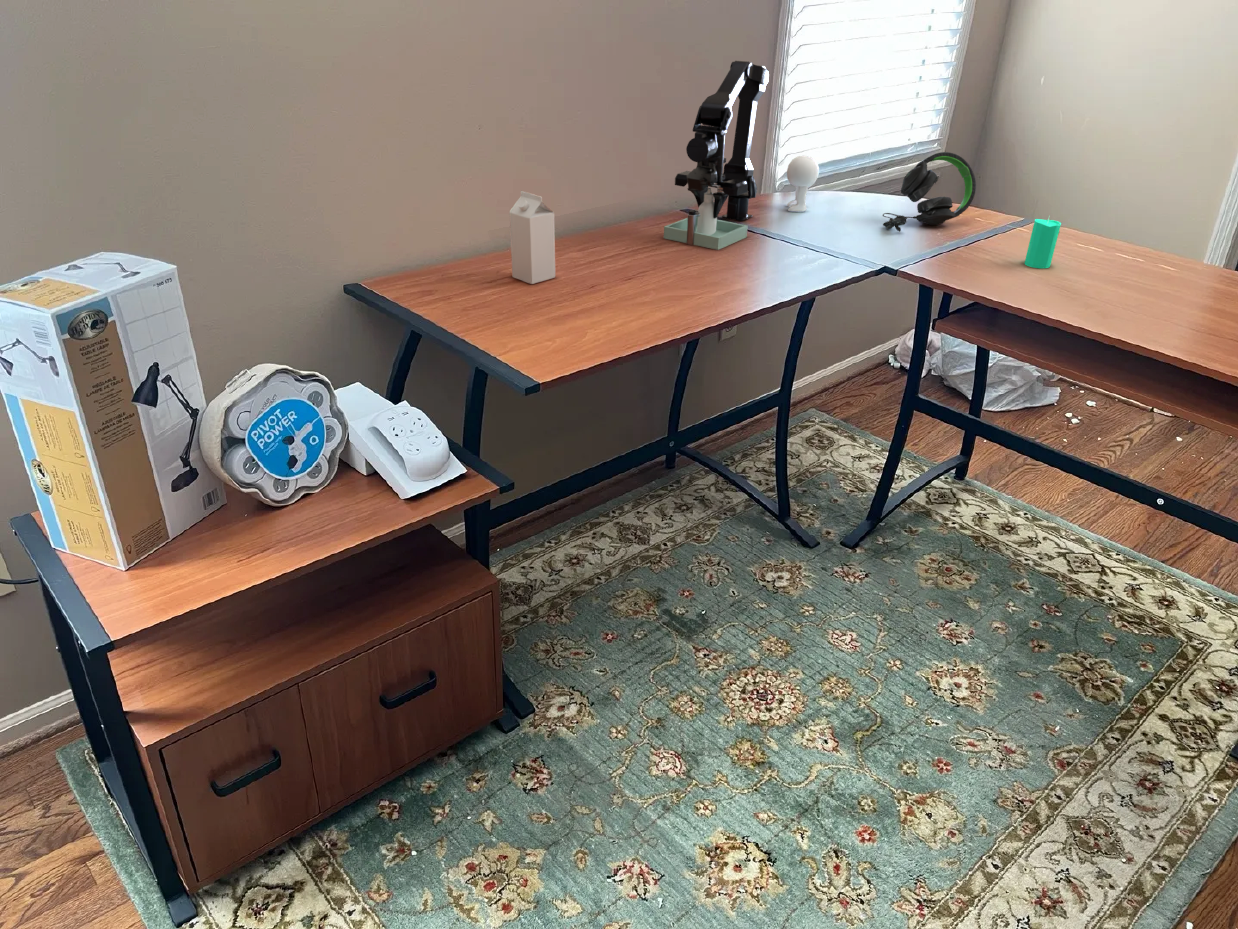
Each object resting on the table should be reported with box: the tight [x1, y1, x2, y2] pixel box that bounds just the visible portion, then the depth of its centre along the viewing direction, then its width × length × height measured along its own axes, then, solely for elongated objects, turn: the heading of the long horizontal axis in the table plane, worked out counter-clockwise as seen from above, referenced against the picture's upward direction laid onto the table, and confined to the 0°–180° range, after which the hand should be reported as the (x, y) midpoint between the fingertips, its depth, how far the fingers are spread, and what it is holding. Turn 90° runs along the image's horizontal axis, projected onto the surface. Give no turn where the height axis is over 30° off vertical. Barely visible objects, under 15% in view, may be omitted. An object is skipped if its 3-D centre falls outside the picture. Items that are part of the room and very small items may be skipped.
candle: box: [1023, 214, 1062, 270], centre depth 219 cm, size 6×6×12 cm
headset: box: [881, 151, 977, 233], centre depth 247 cm, size 18×14×29 cm
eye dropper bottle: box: [697, 187, 718, 235], centre depth 235 cm, size 4×6×12 cm
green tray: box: [663, 217, 749, 251], centre depth 238 cm, size 15×17×3 cm
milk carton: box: [508, 190, 556, 285], centre depth 204 cm, size 7×7×19 cm
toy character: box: [786, 155, 820, 213], centre depth 262 cm, size 9×9×15 cm
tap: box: [685, 209, 700, 246], centre depth 232 cm, size 4×2×8 cm, turn 143°
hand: (708, 216), depth 237 cm, fingers closed on eye dropper bottle, 3 cm apart
